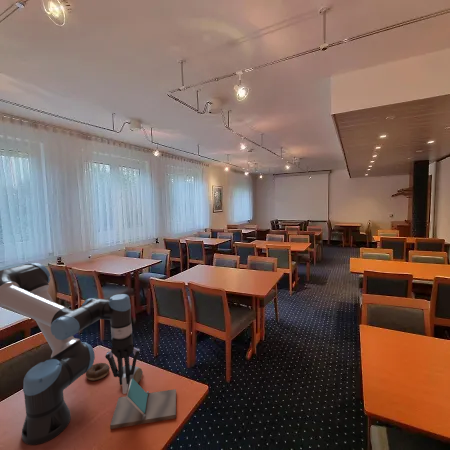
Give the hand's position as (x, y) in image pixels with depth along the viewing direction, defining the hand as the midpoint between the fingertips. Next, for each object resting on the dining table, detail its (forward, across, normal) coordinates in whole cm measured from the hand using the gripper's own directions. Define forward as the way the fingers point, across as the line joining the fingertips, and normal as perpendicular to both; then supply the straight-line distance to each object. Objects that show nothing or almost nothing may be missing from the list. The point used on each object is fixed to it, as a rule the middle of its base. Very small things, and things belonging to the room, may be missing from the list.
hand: (125, 391), depth 103 cm
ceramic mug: (+9, -1, +19) cm, 22 cm away
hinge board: (+9, +8, 0) cm, 12 cm away
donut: (+10, -19, +27) cm, 34 cm away
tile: (+3, +4, 0) cm, 5 cm away
